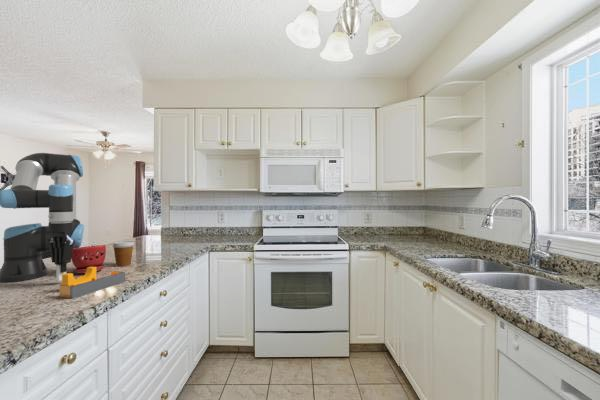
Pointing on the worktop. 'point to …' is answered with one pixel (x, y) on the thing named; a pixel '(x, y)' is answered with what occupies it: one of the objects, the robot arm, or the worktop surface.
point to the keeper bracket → (92, 285)
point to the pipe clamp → (70, 280)
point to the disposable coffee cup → (123, 252)
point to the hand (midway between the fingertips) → (61, 279)
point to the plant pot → (88, 258)
